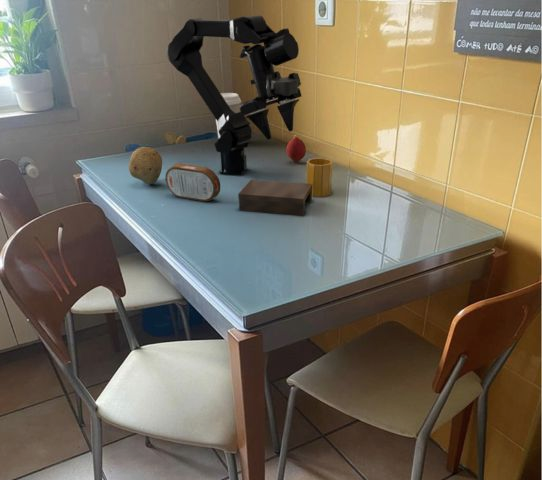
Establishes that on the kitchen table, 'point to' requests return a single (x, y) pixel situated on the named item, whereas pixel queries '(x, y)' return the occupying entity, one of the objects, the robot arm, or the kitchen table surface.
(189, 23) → the robot arm
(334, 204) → the kitchen table surface
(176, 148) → the kitchen table surface
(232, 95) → the coffee cup
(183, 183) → the tin
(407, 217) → the kitchen table surface
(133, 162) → the potato
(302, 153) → the onion
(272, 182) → the brown wooden board
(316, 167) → the cup
